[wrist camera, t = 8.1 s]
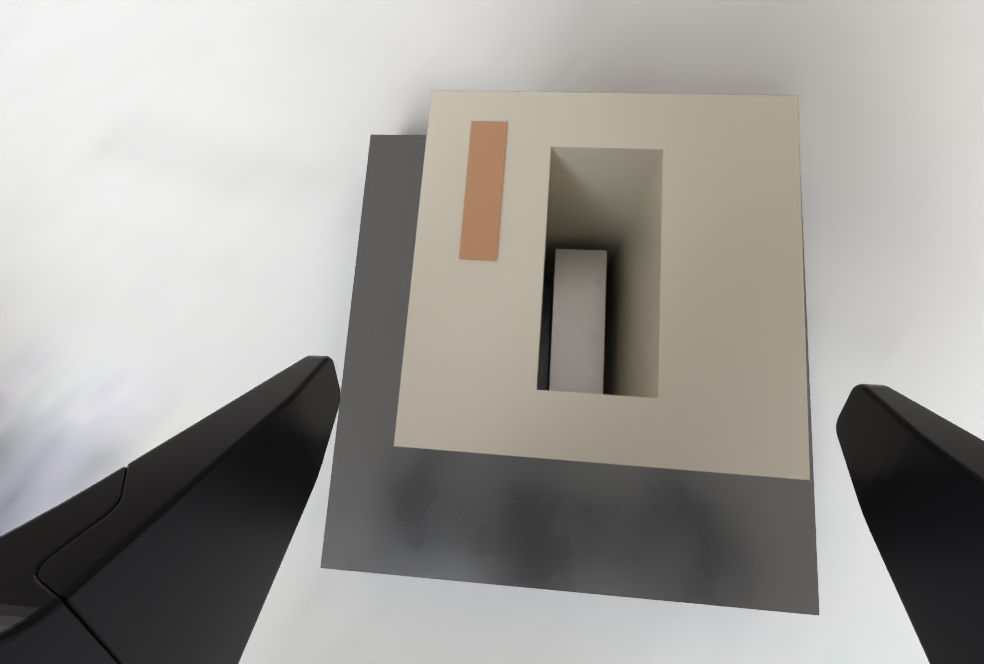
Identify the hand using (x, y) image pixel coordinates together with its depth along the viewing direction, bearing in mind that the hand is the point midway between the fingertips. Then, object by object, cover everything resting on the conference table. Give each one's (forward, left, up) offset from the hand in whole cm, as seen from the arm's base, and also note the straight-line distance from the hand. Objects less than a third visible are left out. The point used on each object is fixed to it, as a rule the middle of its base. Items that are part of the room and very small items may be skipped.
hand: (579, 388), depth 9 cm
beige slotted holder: (+2, -1, -7) cm, 7 cm away
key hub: (+2, -1, -9) cm, 9 cm away
